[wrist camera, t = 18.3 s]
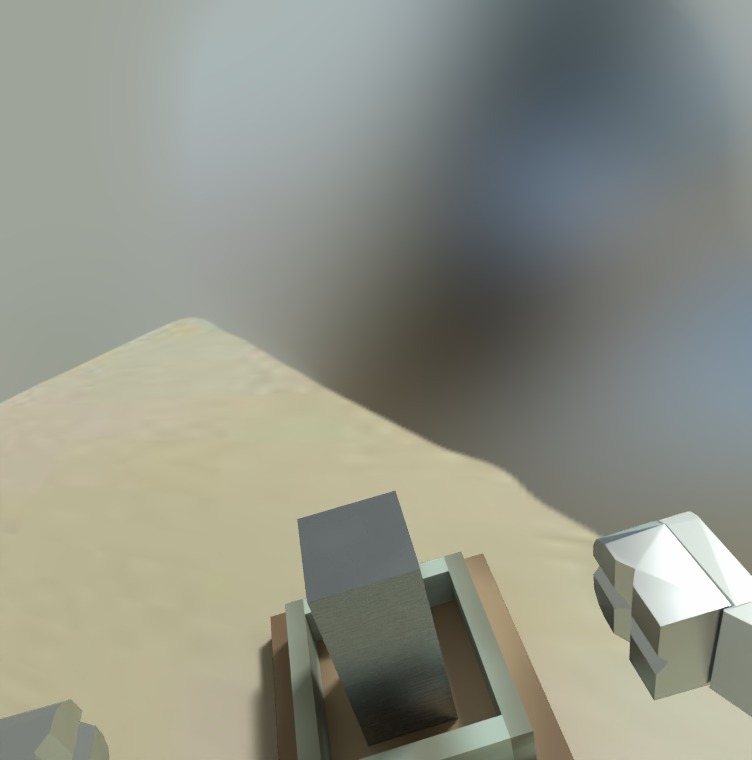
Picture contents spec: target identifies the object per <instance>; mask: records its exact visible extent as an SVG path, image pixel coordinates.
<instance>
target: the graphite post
mask: <svg viewBox="0 0 752 760" xmlns="http://www.w3.org/2000/svg"><path fill="white" fill-rule="evenodd" d="M297 520H298V529H299V537H300V546H301V554H302V563H303V571H304V580H305V589H306V597H307V603H308V606H309V608H310V610H311V613H312V615H313V617H314V620H315V622H316V624H317V627H318V629H319V631H320V634H321V636H322V638H323V641H324V643H325V645H326V648H327V650H328V652H329V655H330V657H331V660H332V662H333V664H334V667H335V669H336V671H337V674H338V676H339V678H340V681H341V683H342V685H343V688H344V690H345V692H346V695H347V697H348V699H349V702H350V704H351V706H352V709H353V711H354V713H355V716H356V718H357V720H358V723H359V725H360V727H361V730H362V732H363V734H364V737H365V739H366V742H367V744H368V746H372V745H376V744H379V743H382V742H385V741H388V740H392V739H395V738H398V737H401V736H404V735H408V734H411V733H414V732H417V731H421V730H424V729H427V728H430V727H433V726H437V725H440V724H443V723H446V722H450V721H453V720H456V719H458V716H457V712H456V708H455V704H454V700H453V696H452V692H451V688H450V685H449V681H448V677H447V673H446V669H445V665H444V661H443V657H442V653H441V649H440V645H439V641H438V637H437V633H436V629H435V625H434V621H433V617H432V614H431V610H430V606H429V602H428V598H427V594H426V590H425V586H424V582H423V578H422V574H421V570H420V567H419V564H418V560H417V557H416V554H415V551H414V548H413V545H412V542H411V539H410V535H409V532H408V529H407V526H406V523H405V520H404V517H403V513H402V510H401V507H400V504H399V501H398V498H397V495H396V492H395V491H393V492H389V493H386V494H382V495H379V496H376V497H372V498H369V499H365V500H362V501H358V502H355V503H352V504H348V505H345V506H341V507H338V508H334V509H331V510H328V511H324V512H321V513H317V514H314V515H310V516H307V517H303V518H300V519H297Z"/></svg>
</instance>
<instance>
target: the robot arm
mask: <svg viewBox="0 0 752 760" xmlns="http://www.w3.org/2000/svg"><path fill="white" fill-rule="evenodd" d="M593 556H594V557H595V559H596V560H597V562H598V564H599V565H600V566H599V568H598V569H597V570H596V572H595V573H594V589H595V592H596V596H597V599H598V603H599V606H600V608H601V610H602V612H603V615H604V617H605V619H606V621H607V622H608V624H609V626H610V628H611V629H612V631H613V633H614V634H616V635H618V636H619V637H621V638H623V639H625V640H626V641H628V642H630V658H629V660H630V661H631V663H632V665H633V666H634V668H635V670H636V671H637V673H638V674H639V676H640V678H641V679H642V681H643V683H644V684H645V686H646V688H647V689H648V691H649V693H650V694H651V696H652V698H653V699H654V700H657V699H661V698H664V697H668V696H671V695H675V694H678V693H682V692H685V691H689V690H692V689H696V688H699V687H702V686H706V685H709V684H710V689H712V690H713V691H715V692H716V693H718V694H719V695H721V696H722V697H724V698H725V699H726V700H728V701H729V702H731V703H732V704H734V705H735V706H737V707H738V708H740V709H741V710H742V711H744V712H745V713H747V714H748V715H750V716H751V717H752V576H751V575H750V574H749V572H748V571H747V570H746V569H745V568H744V567H743V566H742V565H741V563H740V562H739V561H738V560H737V559H736V558H735V557H734V556H733V555H732V554H731V553H730V551H729V550H728V549H727V548H726V547H725V546H724V545H723V544H722V542H721V541H720V540H719V539H718V538H717V537H716V536H715V535H714V534H713V533H712V531H711V530H710V529H709V528H708V527H707V526H706V525H705V524H704V523H703V521H702V520H701V519H700V518H699V517H698V516H697V515H695V514H693V513H691V512H684V513H680V514H677V515H674V516H671V517H668V518H665V519H662V520H659V521H652V522H649V523H646V524H643V525H640V526H636V527H633V528H630V529H627V530H624V531H621V532H618V533H614V534H611V535H608V536H605V537H602V538H599V539H596V541H595V543H594V545H593ZM81 713H82V710H81V709H80V708H79V707H78V706H77V705H76V704H75V703H74V702H73V701H72V700H71V699H70V700H66V701H63V702H59V703H56V704H52V705H49V706H45V707H42V708H38V709H34V710H31V711H27V712H24V713H20V714H17V715H13V716H10V717H6V718H3V719H0V760H109V750H108V746H107V744H106V741H105V739H104V736H103V734H102V733H101V732H100V731H99V729H98V728H97V727H96V726H93V725H90V724H86V723H83V722H80V718H81Z"/></svg>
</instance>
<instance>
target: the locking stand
mask: <svg viewBox="0 0 752 760" xmlns="http://www.w3.org/2000/svg"><path fill="white" fill-rule="evenodd" d="M419 567H420V570H421V574H422V578H423V582H424V586H425V590H426V594H427V598H428V602H429V606H430V610H431V614H432V617H433V621H434V625H435V629H436V633H437V637H438V641H439V645H440V649H441V653H442V657H443V661H444V665H445V669H446V673H447V677H448V681H449V685H450V688H451V692H452V696H453V700H454V704H455V708H456V712H457V716H458V719H456V720H453V721H450V722H446V723H443V724H440V725H437V726H433V727H430V728H427V729H424V730H421V731H417V732H414V733H411V734H408V735H404V736H401V737H398V738H395V739H392V740H388V741H385V742H382V743H379V744H376V745H372V746H368V744H367V742H366V739H365V737H364V734H363V732H362V730H361V727H360V725H359V723H358V720H357V718H356V716H355V713H354V711H353V709H352V706H351V704H350V702H349V699H348V697H347V695H346V692H345V690H344V688H343V685H342V683H341V681H340V678H339V676H338V674H337V671H336V669H335V667H334V664H333V662H332V660H331V657H330V655H329V652H328V650H327V648H326V645H325V643H324V641H323V638H322V636H321V634H320V631H319V629H318V627H317V624H316V622H315V620H314V617H313V615H312V613H311V610H310V608H309V606H308V603H307V598H304V599H301V600H298V601H294V602H291V603H288V604H285V609H286V613H282V614H279V615H276V616H272V617H271V633H272V650H273V668H274V685H275V703H276V720H277V738H278V756H279V760H574V759H573V756H572V754H571V752H570V750H569V747H568V745H567V743H566V741H565V738H564V736H563V734H562V732H561V729H560V727H559V725H558V723H557V720H556V718H555V716H554V713H553V711H552V709H551V707H550V704H549V702H548V700H547V698H546V695H545V693H544V691H543V689H542V686H541V684H540V682H539V679H538V677H537V675H536V673H535V670H534V668H533V666H532V664H531V661H530V659H529V657H528V655H527V652H526V650H525V648H524V646H523V643H522V641H521V639H520V636H519V634H518V632H517V630H516V627H515V625H514V623H513V621H512V618H511V616H510V614H509V612H508V609H507V607H506V605H505V602H504V600H503V598H502V596H501V593H500V591H499V589H498V587H497V584H496V582H495V580H494V578H493V575H492V573H491V571H490V568H489V566H488V564H487V562H486V559H485V557H484V555H483V554H479V555H476V556H473V557H469V558H466V559H464V558H463V555H462V553H461V552H458V553H455V554H452V555H448V556H445V557H442V558H438V559H435V560H432V561H428V562H425V563H421V564H419Z"/></svg>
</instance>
